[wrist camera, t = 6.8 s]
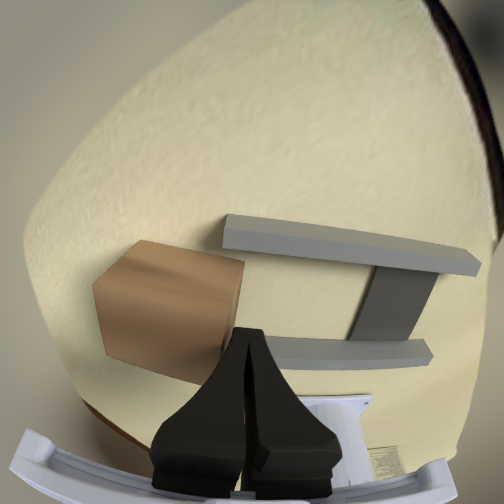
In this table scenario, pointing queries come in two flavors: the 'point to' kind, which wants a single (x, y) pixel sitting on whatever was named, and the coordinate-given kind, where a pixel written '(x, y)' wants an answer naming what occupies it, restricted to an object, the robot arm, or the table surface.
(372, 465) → the skincare box
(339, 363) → the channel
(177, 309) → the walnut block
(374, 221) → the table surface
